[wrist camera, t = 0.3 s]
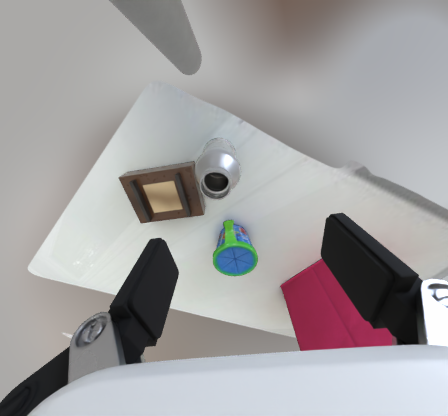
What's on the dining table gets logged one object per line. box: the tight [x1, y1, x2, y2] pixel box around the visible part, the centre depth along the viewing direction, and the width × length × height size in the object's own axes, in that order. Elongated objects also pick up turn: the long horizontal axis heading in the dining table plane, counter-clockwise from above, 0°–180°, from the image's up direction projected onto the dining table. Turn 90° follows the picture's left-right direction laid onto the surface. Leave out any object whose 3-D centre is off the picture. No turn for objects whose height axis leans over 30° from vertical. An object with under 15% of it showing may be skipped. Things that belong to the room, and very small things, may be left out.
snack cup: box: [213, 220, 258, 276], centre depth 43 cm, size 16×10×10 cm
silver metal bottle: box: [195, 138, 241, 200], centre depth 27 cm, size 6×7×20 cm
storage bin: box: [280, 259, 392, 351], centre depth 45 cm, size 28×29×28 cm
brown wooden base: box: [119, 161, 205, 223], centre depth 38 cm, size 12×16×6 cm
